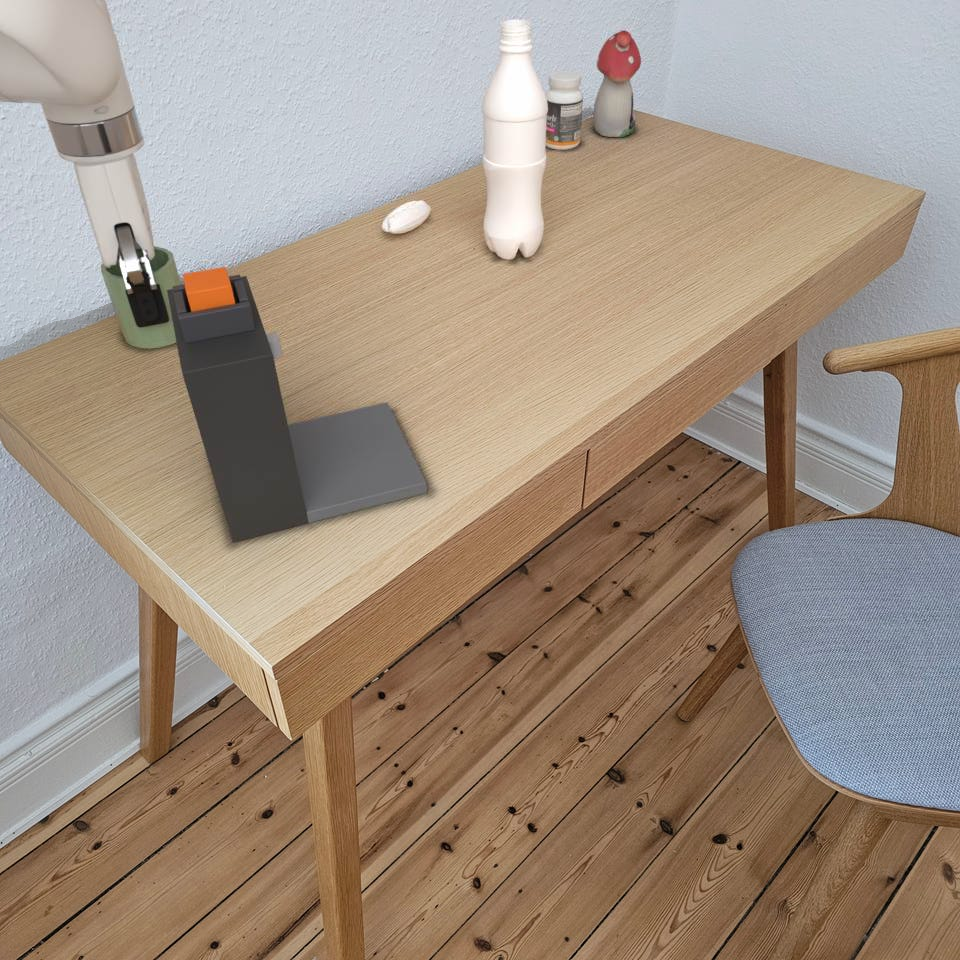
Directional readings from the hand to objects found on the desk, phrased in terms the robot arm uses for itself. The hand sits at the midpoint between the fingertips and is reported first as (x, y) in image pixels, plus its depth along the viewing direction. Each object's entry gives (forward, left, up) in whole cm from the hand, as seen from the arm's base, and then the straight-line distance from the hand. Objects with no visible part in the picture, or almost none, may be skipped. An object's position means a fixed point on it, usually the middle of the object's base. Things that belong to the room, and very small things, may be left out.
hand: (150, 304), depth 88 cm
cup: (0, 0, -3) cm, 3 cm away
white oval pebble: (+32, +14, -3) cm, 35 cm away
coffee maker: (+11, -29, -3) cm, 31 cm away
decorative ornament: (+72, +35, -3) cm, 80 cm away
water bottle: (+42, +3, -3) cm, 42 cm away
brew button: (+6, -29, +14) cm, 33 cm away
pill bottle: (+62, +33, -3) cm, 70 cm away
